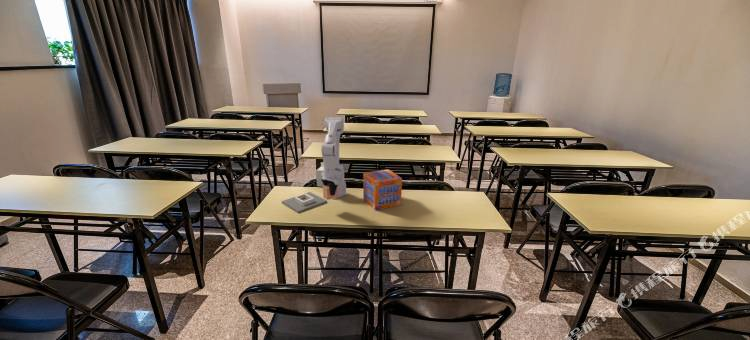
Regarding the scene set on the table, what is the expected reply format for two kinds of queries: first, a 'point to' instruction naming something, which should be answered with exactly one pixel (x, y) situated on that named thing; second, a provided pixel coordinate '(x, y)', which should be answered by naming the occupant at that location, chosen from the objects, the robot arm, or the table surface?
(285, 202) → the keyed socket
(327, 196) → the keyed peg
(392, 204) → the game box
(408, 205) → the table surface
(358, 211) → the table surface
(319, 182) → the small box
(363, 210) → the table surface
